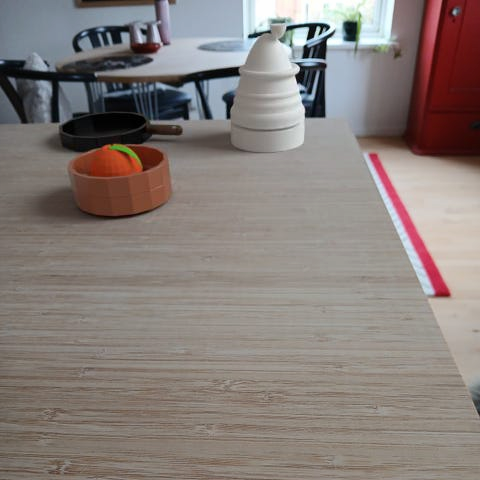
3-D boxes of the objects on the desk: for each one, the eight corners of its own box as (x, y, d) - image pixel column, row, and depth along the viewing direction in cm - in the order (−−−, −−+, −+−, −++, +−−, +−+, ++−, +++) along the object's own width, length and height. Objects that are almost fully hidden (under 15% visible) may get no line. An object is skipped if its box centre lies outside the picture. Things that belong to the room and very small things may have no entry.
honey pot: (316, 135, 92) (323, 20, 81) (280, 157, 84) (282, 31, 73) (255, 126, 98) (254, 17, 87) (216, 145, 90) (209, 27, 79)
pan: (45, 150, 91) (41, 134, 89) (87, 123, 103) (84, 109, 102) (168, 155, 86) (166, 139, 84) (196, 127, 99) (195, 112, 97)
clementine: (161, 190, 73) (155, 139, 69) (132, 209, 68) (123, 156, 64) (116, 182, 76) (107, 133, 72) (85, 200, 71) (74, 148, 67)
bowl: (59, 215, 68) (49, 175, 65) (102, 178, 79) (95, 142, 75) (152, 222, 66) (146, 181, 62) (184, 183, 76) (180, 146, 73)
